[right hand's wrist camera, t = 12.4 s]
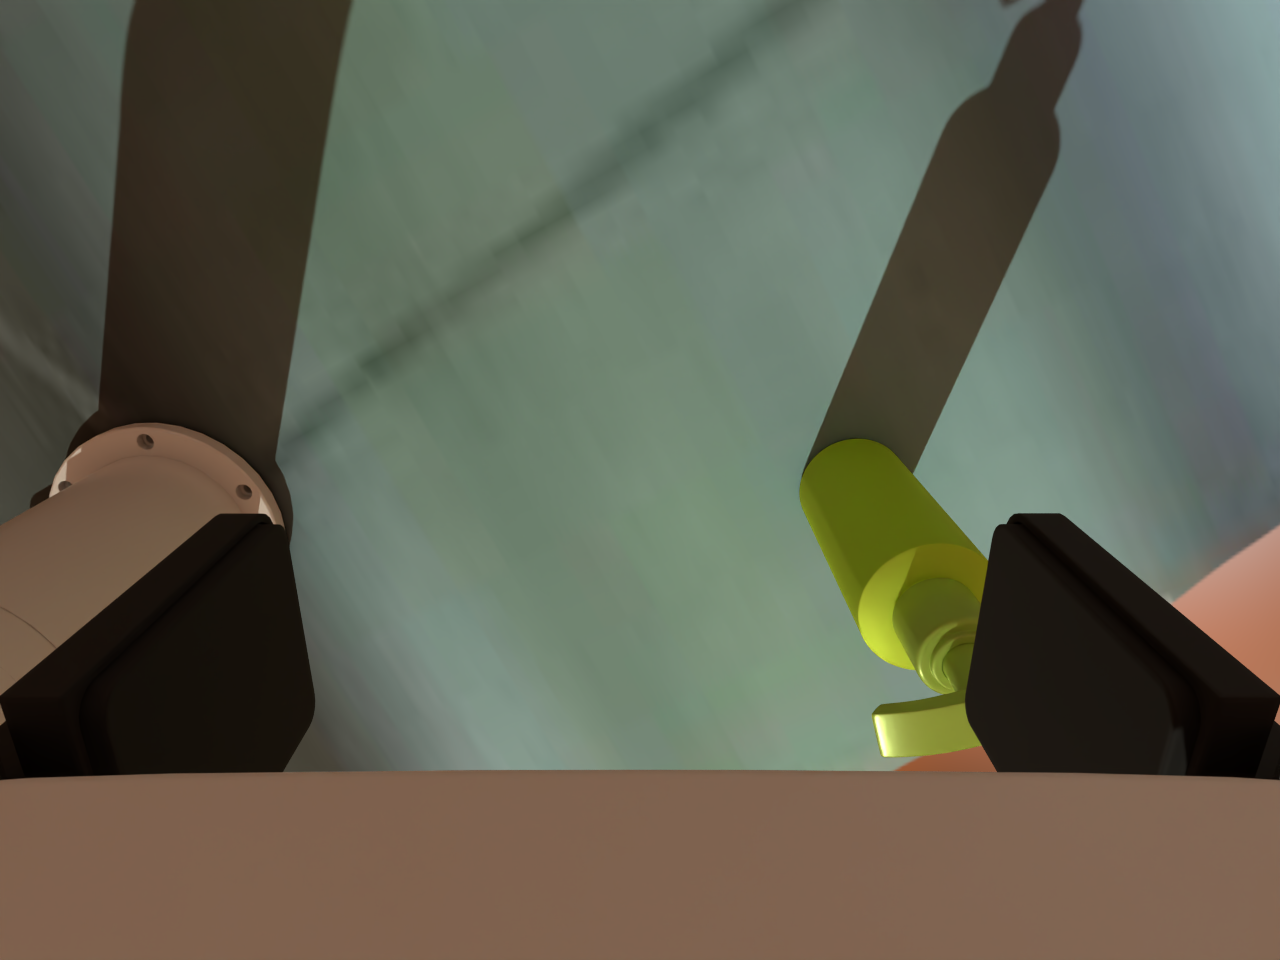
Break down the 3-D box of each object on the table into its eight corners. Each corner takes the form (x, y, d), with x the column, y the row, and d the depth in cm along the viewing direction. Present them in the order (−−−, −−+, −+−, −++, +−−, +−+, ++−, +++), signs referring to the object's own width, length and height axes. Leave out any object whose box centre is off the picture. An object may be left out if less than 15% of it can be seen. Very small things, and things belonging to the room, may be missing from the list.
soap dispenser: (770, 459, 45) (863, 673, 26) (895, 425, 44) (1084, 620, 25) (793, 552, 47) (895, 813, 28) (914, 521, 46) (1101, 767, 27)
